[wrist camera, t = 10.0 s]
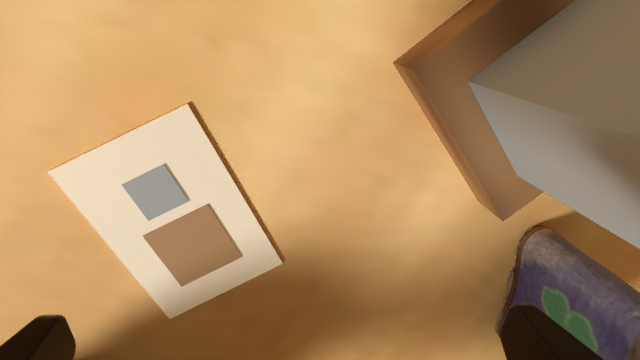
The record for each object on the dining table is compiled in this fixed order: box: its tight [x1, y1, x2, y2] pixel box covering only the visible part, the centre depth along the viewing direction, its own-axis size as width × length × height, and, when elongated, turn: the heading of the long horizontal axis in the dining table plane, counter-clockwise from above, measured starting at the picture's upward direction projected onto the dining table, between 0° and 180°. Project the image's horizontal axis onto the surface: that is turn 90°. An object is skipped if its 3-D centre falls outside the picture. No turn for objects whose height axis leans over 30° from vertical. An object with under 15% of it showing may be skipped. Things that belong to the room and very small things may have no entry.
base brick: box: [393, 0, 575, 221], centre depth 21 cm, size 10×10×3 cm
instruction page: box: [48, 103, 283, 319], centre depth 21 cm, size 10×7×1 cm
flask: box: [495, 226, 640, 360], centre depth 23 cm, size 9×3×11 cm, turn 176°
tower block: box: [467, 0, 640, 249], centre depth 16 cm, size 6×6×8 cm
